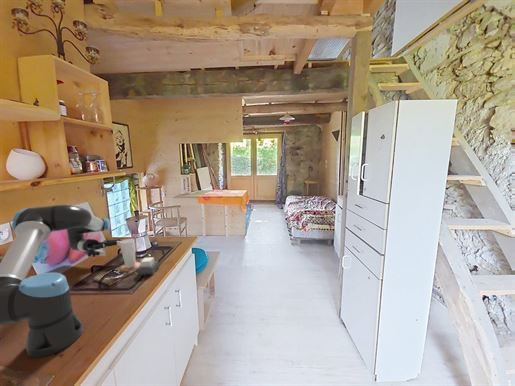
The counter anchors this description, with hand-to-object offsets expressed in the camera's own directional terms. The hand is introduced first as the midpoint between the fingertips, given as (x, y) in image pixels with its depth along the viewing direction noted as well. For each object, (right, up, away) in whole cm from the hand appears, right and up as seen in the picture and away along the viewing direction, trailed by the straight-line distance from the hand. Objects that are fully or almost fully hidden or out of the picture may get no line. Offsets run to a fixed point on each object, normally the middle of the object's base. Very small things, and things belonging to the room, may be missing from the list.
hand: (115, 248), depth 136 cm
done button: (+21, -9, -6) cm, 24 cm away
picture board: (+7, -12, -6) cm, 15 cm away
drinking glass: (+9, -10, -1) cm, 14 cm away
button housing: (+21, -11, -6) cm, 25 cm away
